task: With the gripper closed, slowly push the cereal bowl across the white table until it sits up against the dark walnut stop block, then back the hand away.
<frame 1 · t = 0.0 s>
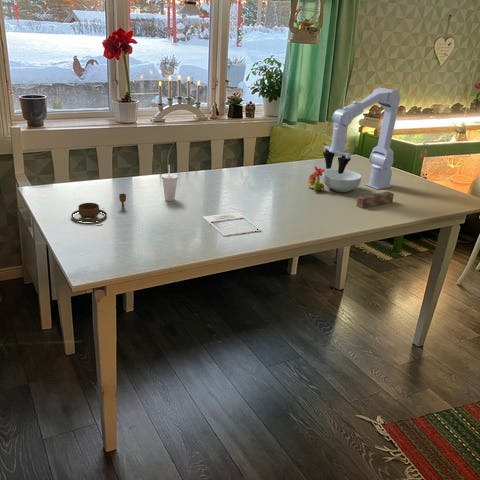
hand: (334, 170, 216), 10 cm above the table, tool pointing down, fingers open, 7 cm apart
stop block: (374, 204, 211), on the table
smoothie: (169, 199, 200), on the table
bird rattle: (313, 190, 224), on the table
place setting: (101, 218, 179), on the table
photo frame: (231, 226, 180), on the table
cereal bowl: (340, 189, 227), on the table
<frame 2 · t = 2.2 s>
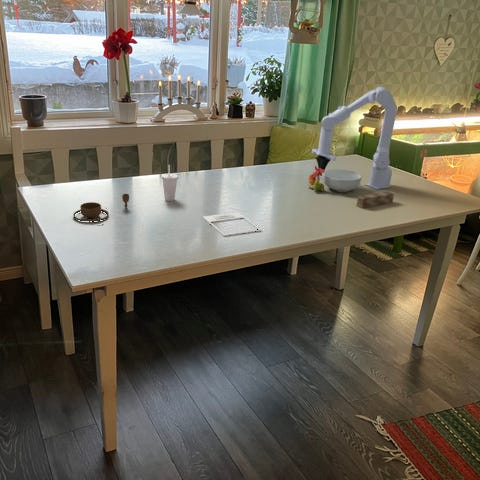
hand: (321, 172, 235), 4 cm above the table, tool pointing down, fingers closed
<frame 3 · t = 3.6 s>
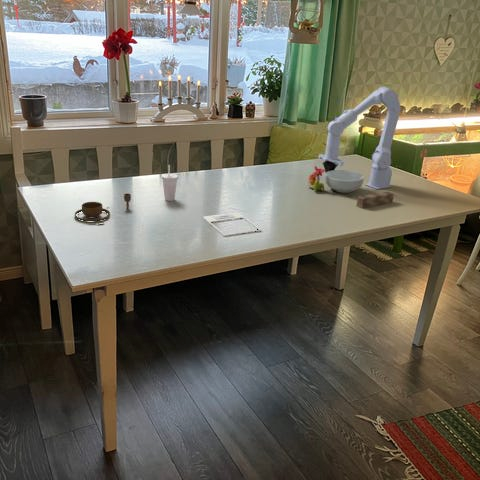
hand: (328, 177, 232), 3 cm above the table, tool pointing down, fingers closed
cereal bowl: (342, 190, 225), on the table, touching gripper
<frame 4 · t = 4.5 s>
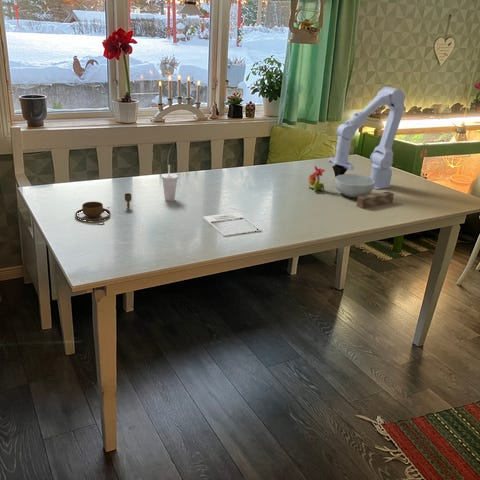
hand: (338, 181, 227), 3 cm above the table, tool pointing down, fingers closed
cereal bowl: (352, 195, 220), on the table, touching gripper
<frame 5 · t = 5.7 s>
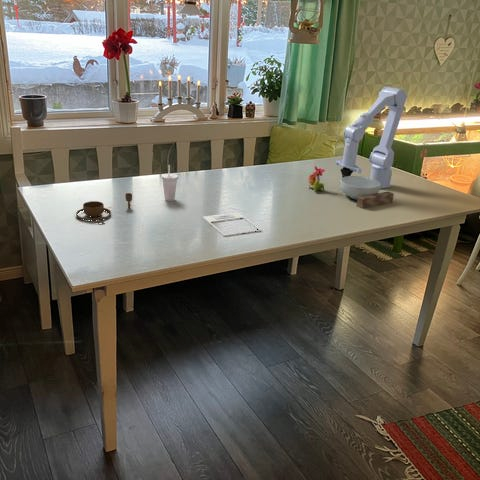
hand: (345, 184, 223), 3 cm above the table, tool pointing down, fingers closed, pressing on cereal bowl
cereal bowl: (357, 197, 218), on the table, touching gripper, stop block
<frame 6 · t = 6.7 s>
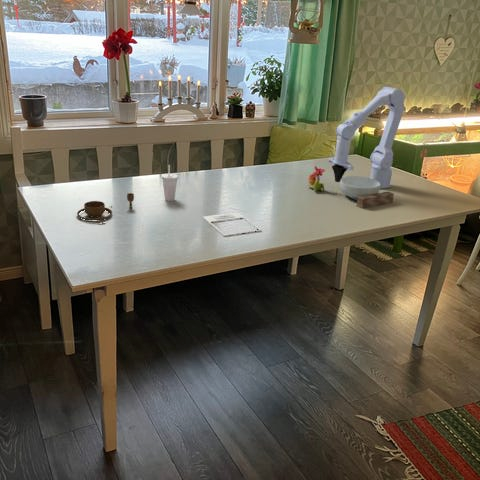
hand: (337, 181, 227), 3 cm above the table, tool pointing down, fingers closed
cereal bowl: (357, 197, 218), on the table
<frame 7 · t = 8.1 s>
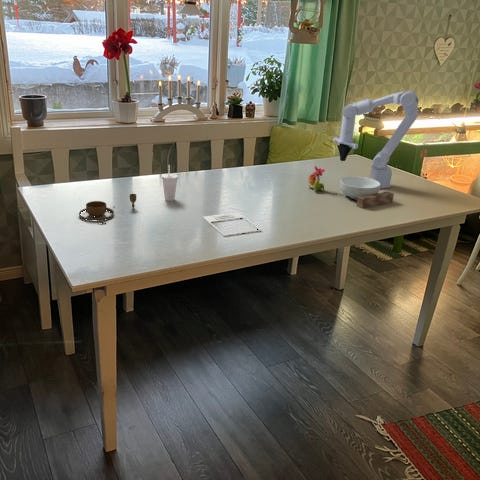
hand: (342, 160, 236), 9 cm above the table, tool pointing down, fingers closed
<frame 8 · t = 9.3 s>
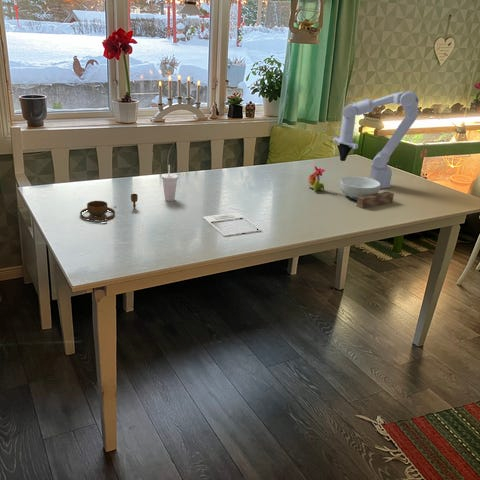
hand: (342, 160, 236), 9 cm above the table, tool pointing down, fingers closed
at the end: cereal bowl inside the target area (0.2 cm from its centre), on the table; cereal bowl tilted 0°; cereal bowl moved 11.4 cm from its start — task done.
